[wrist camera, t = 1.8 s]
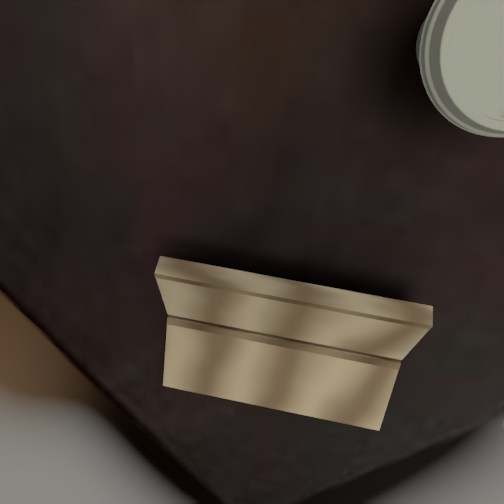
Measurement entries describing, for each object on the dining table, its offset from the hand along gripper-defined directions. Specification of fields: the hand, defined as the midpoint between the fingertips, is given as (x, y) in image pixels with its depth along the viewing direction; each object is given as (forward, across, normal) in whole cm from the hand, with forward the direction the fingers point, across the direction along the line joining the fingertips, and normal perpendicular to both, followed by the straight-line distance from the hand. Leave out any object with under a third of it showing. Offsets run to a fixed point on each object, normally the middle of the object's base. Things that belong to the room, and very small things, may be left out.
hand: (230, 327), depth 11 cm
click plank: (+24, +1, -13) cm, 28 cm away
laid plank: (+27, +1, -21) cm, 34 cm away
